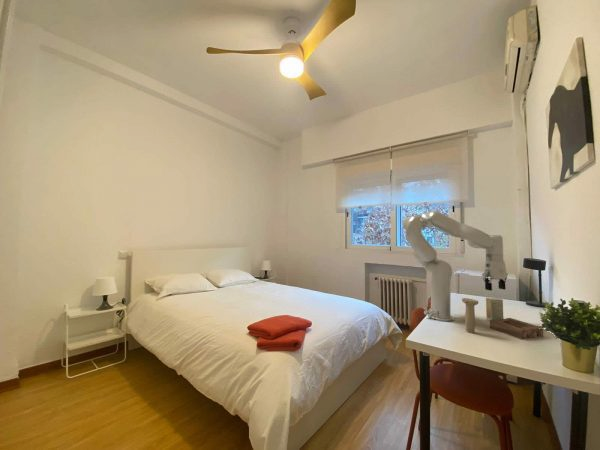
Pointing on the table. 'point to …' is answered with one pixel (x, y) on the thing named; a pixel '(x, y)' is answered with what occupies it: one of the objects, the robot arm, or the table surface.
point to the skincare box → (494, 308)
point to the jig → (516, 328)
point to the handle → (470, 314)
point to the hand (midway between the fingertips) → (495, 289)
